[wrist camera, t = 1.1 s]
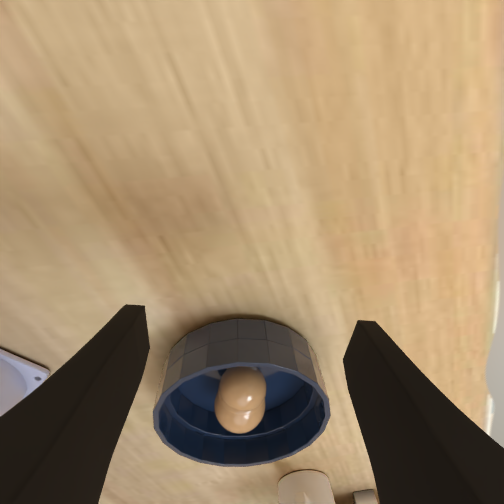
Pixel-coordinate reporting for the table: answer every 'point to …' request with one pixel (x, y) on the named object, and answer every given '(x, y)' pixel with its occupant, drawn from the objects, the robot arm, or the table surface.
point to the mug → (305, 488)
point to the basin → (207, 384)
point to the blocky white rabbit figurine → (364, 497)
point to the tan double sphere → (240, 399)
